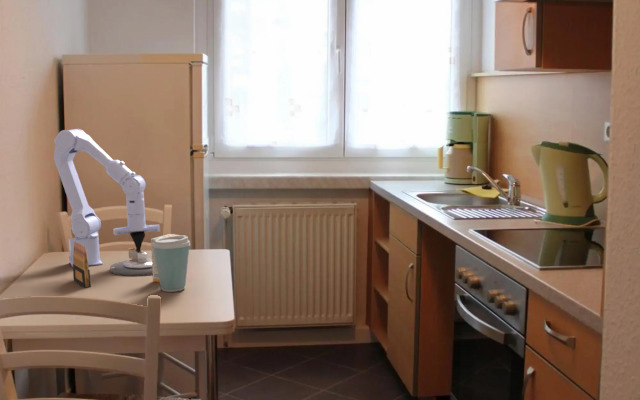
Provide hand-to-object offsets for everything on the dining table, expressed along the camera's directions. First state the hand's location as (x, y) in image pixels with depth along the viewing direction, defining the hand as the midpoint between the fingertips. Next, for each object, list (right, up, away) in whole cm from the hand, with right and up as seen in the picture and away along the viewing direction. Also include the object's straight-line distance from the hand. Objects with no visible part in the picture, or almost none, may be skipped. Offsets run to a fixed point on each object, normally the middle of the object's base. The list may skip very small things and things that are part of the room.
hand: (138, 254), depth 250 cm
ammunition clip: (-11, -7, -24) cm, 27 cm away
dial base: (+3, -4, -5) cm, 7 cm away
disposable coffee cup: (+17, -8, -31) cm, 37 cm away
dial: (+2, -3, -4) cm, 5 cm away
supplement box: (+13, -6, -20) cm, 25 cm away
